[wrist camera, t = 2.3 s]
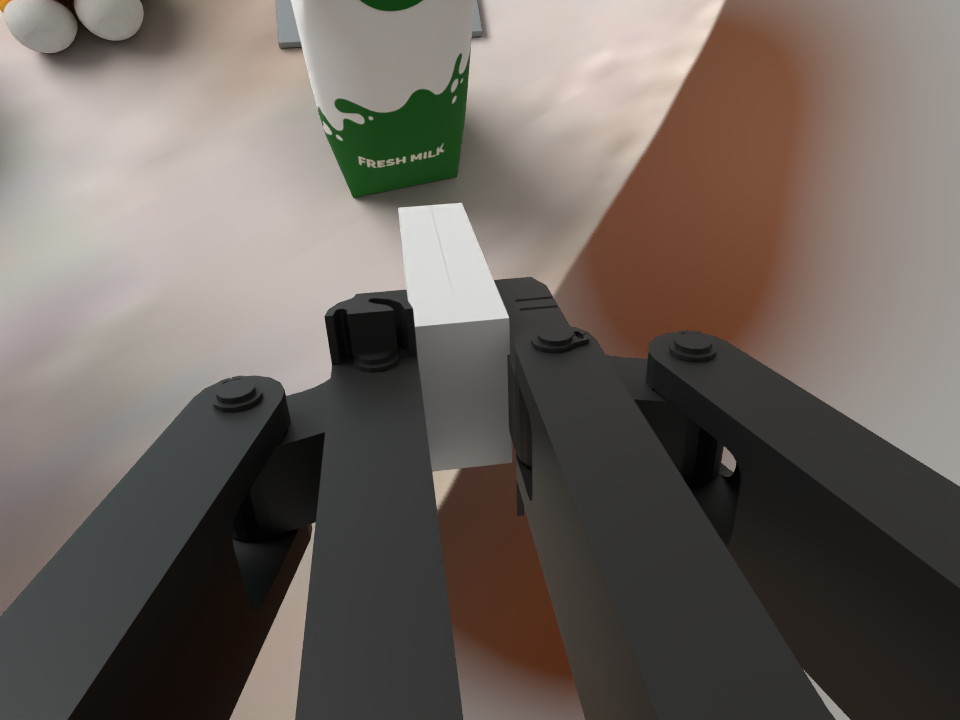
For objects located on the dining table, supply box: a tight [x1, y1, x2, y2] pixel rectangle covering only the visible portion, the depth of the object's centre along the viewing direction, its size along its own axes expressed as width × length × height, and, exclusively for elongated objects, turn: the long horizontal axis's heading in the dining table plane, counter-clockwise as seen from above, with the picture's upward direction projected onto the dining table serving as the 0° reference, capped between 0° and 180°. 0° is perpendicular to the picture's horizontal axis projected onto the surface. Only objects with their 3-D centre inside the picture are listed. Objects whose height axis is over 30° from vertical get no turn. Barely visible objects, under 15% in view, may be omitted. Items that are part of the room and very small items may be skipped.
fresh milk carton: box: [291, 0, 474, 198], centre depth 37 cm, size 9×9×20 cm
